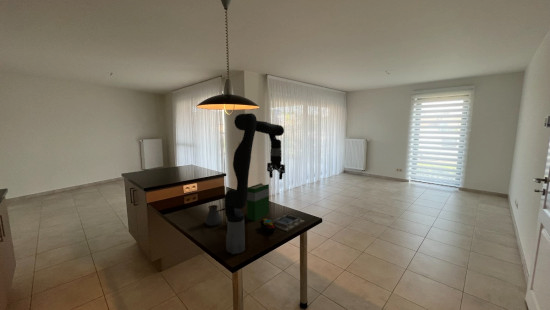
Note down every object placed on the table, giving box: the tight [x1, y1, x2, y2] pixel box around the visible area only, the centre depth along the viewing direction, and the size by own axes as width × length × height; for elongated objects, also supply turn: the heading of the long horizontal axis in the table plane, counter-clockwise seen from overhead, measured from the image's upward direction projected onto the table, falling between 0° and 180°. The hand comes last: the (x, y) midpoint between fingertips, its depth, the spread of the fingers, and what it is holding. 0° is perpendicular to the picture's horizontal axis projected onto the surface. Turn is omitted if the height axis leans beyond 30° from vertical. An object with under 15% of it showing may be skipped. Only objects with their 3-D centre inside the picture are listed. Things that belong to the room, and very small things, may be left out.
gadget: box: [259, 218, 277, 233], centre depth 142 cm, size 6×13×6 cm, turn 32°
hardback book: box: [246, 183, 270, 222], centre depth 164 cm, size 18×7×24 cm, turn 147°
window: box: [272, 214, 305, 232], centre depth 153 cm, size 20×16×3 cm
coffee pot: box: [204, 204, 225, 227], centre depth 148 cm, size 21×12×15 cm, turn 56°
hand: (275, 178), depth 149 cm, fingers open, 8 cm apart
